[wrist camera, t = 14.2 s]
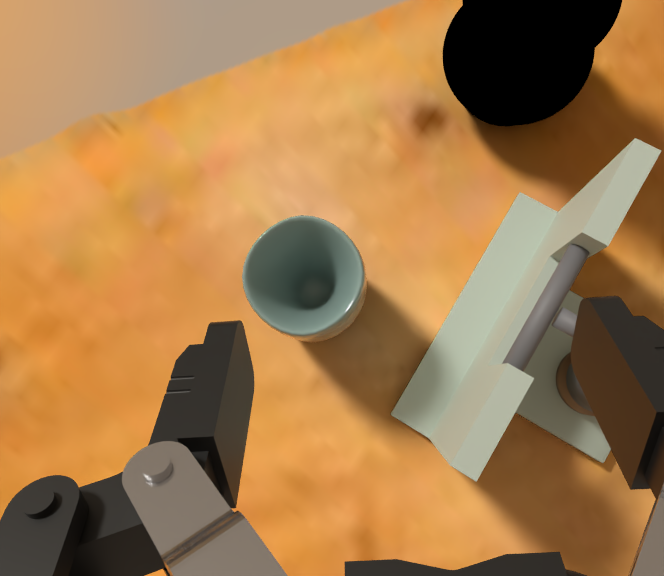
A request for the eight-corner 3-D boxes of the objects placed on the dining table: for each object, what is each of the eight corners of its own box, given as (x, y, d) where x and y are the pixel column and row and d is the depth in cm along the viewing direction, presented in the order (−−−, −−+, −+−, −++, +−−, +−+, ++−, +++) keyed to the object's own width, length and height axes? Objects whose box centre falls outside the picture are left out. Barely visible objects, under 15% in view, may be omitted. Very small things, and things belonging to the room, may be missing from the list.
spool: (605, 428, 42) (673, 443, 32) (543, 392, 43) (591, 396, 33) (638, 369, 43) (714, 366, 33) (575, 334, 43) (632, 321, 34)
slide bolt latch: (565, 521, 42) (663, 597, 28) (390, 413, 45) (394, 430, 30) (691, 288, 44) (847, 242, 29) (517, 196, 46) (579, 110, 32)
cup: (388, 294, 46) (389, 271, 36) (320, 365, 46) (303, 361, 36) (318, 230, 47) (300, 190, 38) (251, 298, 47) (217, 277, 37)
